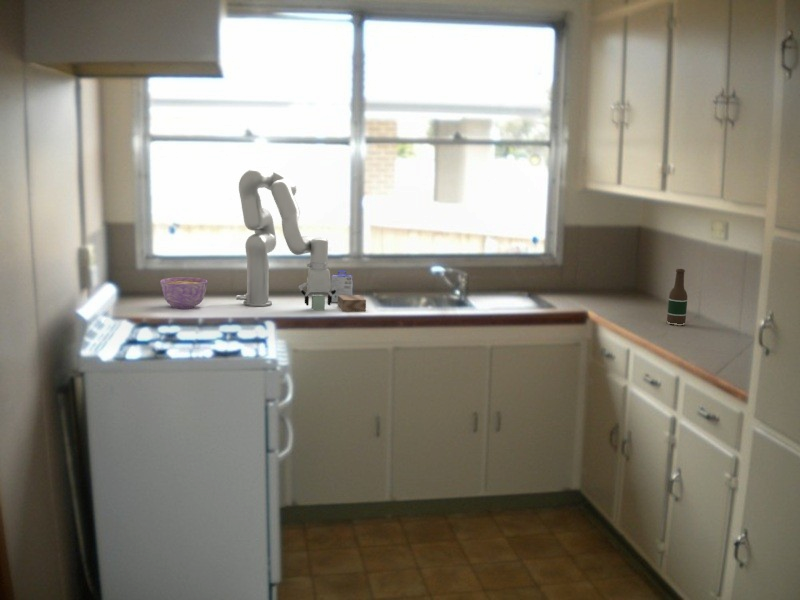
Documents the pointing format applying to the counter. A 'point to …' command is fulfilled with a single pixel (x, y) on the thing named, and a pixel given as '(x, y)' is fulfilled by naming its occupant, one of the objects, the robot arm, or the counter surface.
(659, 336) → the counter surface
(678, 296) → the beer bottle
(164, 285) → the bowl of food
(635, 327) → the counter surface
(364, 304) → the brown wooden block
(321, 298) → the pale green block
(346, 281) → the ink cartridge box
